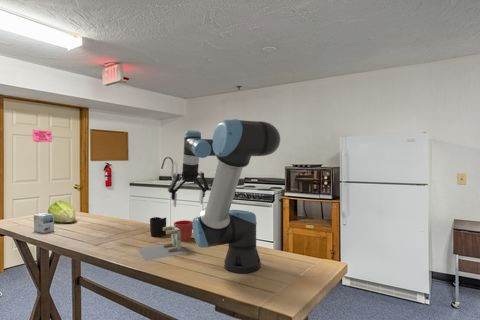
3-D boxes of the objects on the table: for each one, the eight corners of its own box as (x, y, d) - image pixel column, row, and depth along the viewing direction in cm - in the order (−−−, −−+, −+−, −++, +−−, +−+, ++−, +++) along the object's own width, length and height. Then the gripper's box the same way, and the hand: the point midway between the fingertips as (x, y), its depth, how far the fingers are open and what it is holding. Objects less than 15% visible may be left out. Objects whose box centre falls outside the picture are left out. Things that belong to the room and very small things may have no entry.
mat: (188, 253, 140) (188, 253, 140) (145, 261, 130) (145, 260, 130) (176, 243, 157) (176, 242, 157) (136, 249, 148) (136, 248, 148)
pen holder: (163, 232, 181) (163, 216, 181) (168, 235, 173) (168, 218, 173) (147, 234, 176) (147, 218, 176) (152, 238, 168) (152, 220, 168)
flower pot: (189, 242, 158) (189, 224, 158) (170, 241, 161) (170, 224, 161) (196, 237, 169) (196, 220, 169) (178, 236, 171) (178, 220, 171)
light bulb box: (54, 231, 186) (54, 214, 186) (43, 233, 180) (43, 215, 180) (44, 229, 191) (44, 212, 191) (33, 231, 185) (33, 214, 185)
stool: (180, 250, 144) (180, 229, 144) (168, 252, 141) (168, 231, 141) (174, 245, 153) (174, 225, 153) (162, 246, 150) (162, 227, 150)
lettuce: (82, 228, 215) (58, 235, 203) (68, 212, 229) (45, 218, 217) (82, 210, 210) (57, 216, 198) (68, 196, 224) (44, 201, 212)
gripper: (211, 160, 151) (208, 199, 155) (162, 161, 138) (160, 203, 143) (217, 164, 144) (213, 205, 149) (167, 165, 132) (164, 209, 137)
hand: (187, 204), depth 146 cm, fingers open, 13 cm apart
